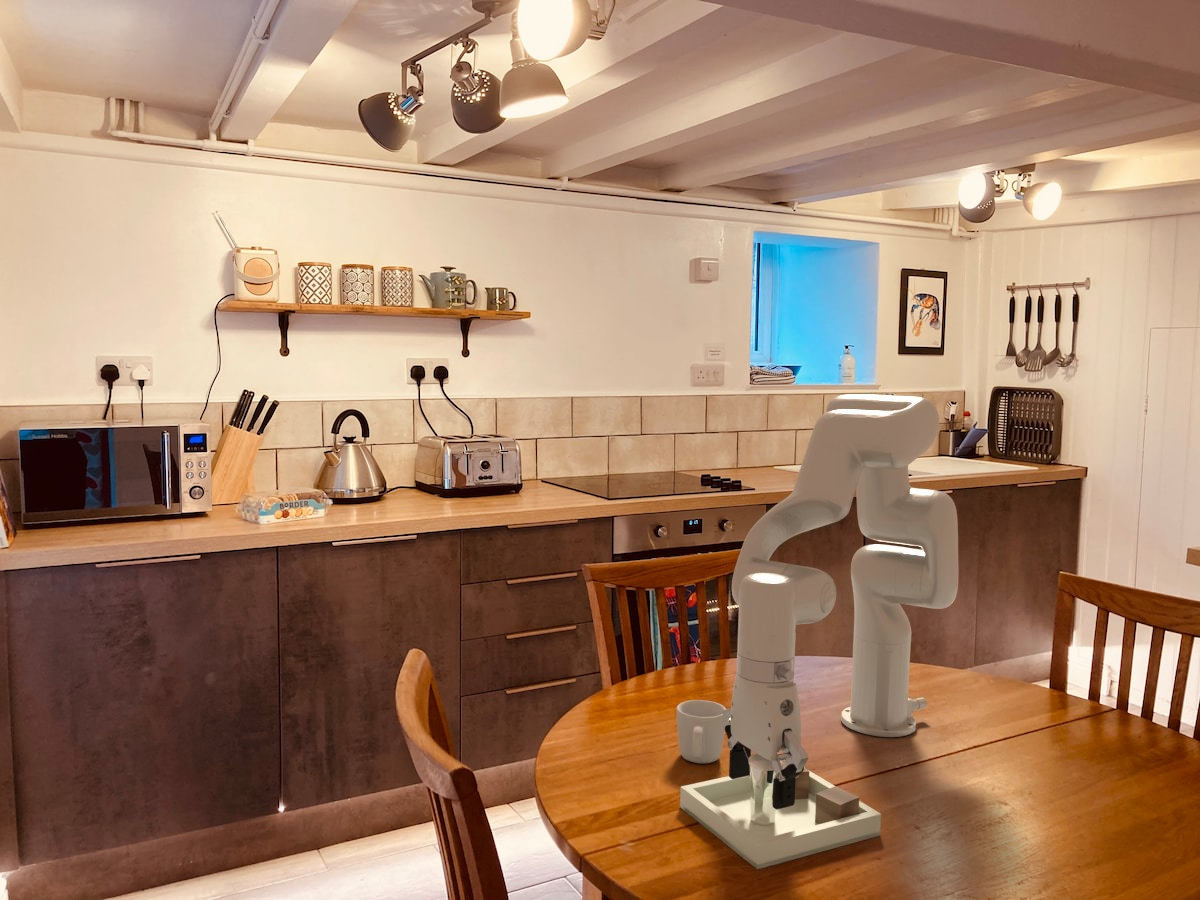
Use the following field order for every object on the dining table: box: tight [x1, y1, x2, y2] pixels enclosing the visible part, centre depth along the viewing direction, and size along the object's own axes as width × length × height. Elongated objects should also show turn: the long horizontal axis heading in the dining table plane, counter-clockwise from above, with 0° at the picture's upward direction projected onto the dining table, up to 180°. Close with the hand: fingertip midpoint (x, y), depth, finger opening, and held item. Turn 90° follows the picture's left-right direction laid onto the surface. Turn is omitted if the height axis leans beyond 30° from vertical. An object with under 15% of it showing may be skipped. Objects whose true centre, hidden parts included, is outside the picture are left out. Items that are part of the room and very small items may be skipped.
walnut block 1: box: [781, 760, 810, 800], centre depth 135 cm, size 4×4×4 cm
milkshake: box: [743, 747, 783, 825], centre depth 127 cm, size 4×5×10 cm
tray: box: [679, 769, 882, 870], centre depth 128 cm, size 20×18×3 cm
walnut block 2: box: [815, 785, 860, 824], centre depth 126 cm, size 4×4×4 cm
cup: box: [675, 699, 727, 764], centre depth 147 cm, size 11×8×8 cm
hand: (760, 791), depth 126 cm, fingers open, 9 cm apart
